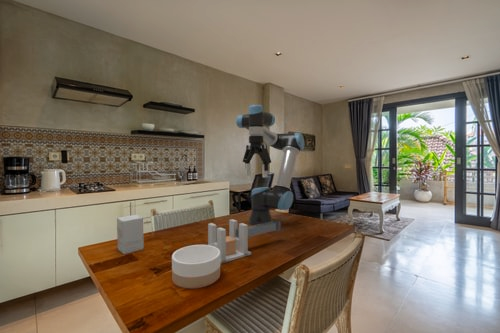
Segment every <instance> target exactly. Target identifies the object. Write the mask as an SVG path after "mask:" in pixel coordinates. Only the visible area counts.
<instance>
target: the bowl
mask: <svg viewBox="0 0 500 333" xmlns="http://www.w3.org/2000/svg"><path fill="white" fill-rule="evenodd" d="M220 276H221V264H220V250H219V249H218V248H216V247H214V246H210V245H208V244H193V245H188V246H187V245H186V246H184V247H181V248H179V249H177V250H175V251H173V253H172V254H171V280H172V282H173V284H174V285H176V286H177V287H180V288H184V289H199V288H203V287H207V286H209V285H212V284H214V283H215V282H217V281H218V280H219V279H220Z"/></svg>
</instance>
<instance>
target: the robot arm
mask: <svg viewBox="0 0 500 333" xmlns="http://www.w3.org/2000/svg"><path fill="white" fill-rule="evenodd" d="M275 122H276V118H275V115H274V114H273V113H270V112H268V111H264V106H263V105H261V104H252V105H250V106H248V114H247V113H245V114H239V115H237V117H236V119H235V123H236V126H237V127H238V128H240V129H246V130H248V135H249V136H248V143H249V145H248V144H247V145H246V147H245V152H244V155H243V159H242V163H244V164H245V177H246V176H247V177H248V176H251V175H252V172H251V170H252V169H251V167H252V166H251V165H252V164H251V160H252V159H253V157H254V155H255V154H256V155H258V156H259V158H260V159H261V161H262V164H261V165H262V167H261V168H262V170H261V171H262V175H261V176H262V178H264V179H265V178H268V172H269V164H271V163H272V159H271V156H270V153H269V151H268V146H269V147H271V148H273V149H276V150H278V151H279V150H280V151H282V152H283V156H282V158H281V159H282V160H281V163H280V164H281V165H280V168H279V172H278V176H277V181H276V184H274V185H273V186H272V189H270V186H262V187H260V186H259V187H255V188H252V190H251V195H250V196H251V212H250V215H249V219H248V223H249V224H250V225H251V226H253V225H257V224H262V223H267V222H271V221H272V220H273V219H272V214H271V211H270V209H273V210H278V211H282V210H283V211H287V210H289V209H290V208H291V207H292V206H293V205H292V204H293V202H294V194H293V192H292V189H291V182H292V179H293V178H292V177H293V175H294V169H295V165H296V160H297V157H298V156H299V155H300V153H301V151H302V150H304V149H305V139H304V138H305V137H304V136H303V134H302V132H292V133H291V132H287V133H285V132H284V133H276V132H275V131H271V130H270V129H268V127H272V126H274V125H275ZM264 142H265V144H263V143H264ZM267 145H268V146H267Z"/></svg>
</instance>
